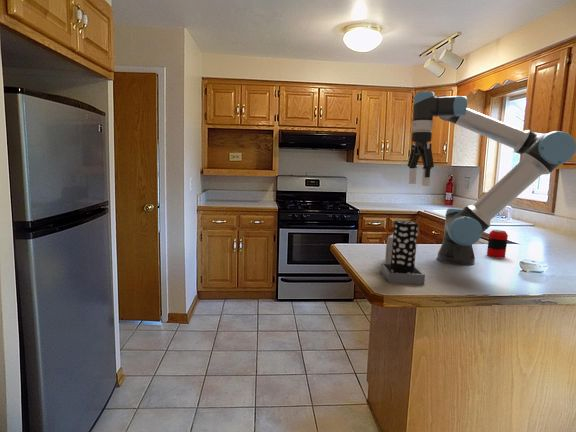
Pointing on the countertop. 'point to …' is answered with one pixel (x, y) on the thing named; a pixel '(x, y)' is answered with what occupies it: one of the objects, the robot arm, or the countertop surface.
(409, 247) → the spotted tube
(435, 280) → the countertop surface
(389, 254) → the stereo radio cassette player
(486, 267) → the countertop surface
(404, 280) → the tray
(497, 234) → the soda can
